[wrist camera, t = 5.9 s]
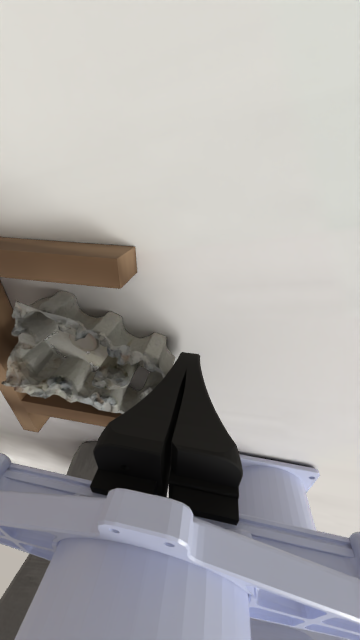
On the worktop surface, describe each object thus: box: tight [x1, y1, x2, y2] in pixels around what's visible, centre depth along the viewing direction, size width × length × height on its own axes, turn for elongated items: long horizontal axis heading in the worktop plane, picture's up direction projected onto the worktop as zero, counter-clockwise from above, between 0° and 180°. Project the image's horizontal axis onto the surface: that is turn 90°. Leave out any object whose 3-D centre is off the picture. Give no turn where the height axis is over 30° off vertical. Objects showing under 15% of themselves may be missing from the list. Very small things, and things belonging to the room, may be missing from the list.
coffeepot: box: [0, 441, 98, 640], centre depth 19 cm, size 15×9×18 cm, turn 126°
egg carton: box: [1, 291, 175, 414], centre depth 15 cm, size 11×8×4 cm
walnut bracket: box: [0, 237, 137, 432], centre depth 16 cm, size 20×12×2 cm, turn 178°
